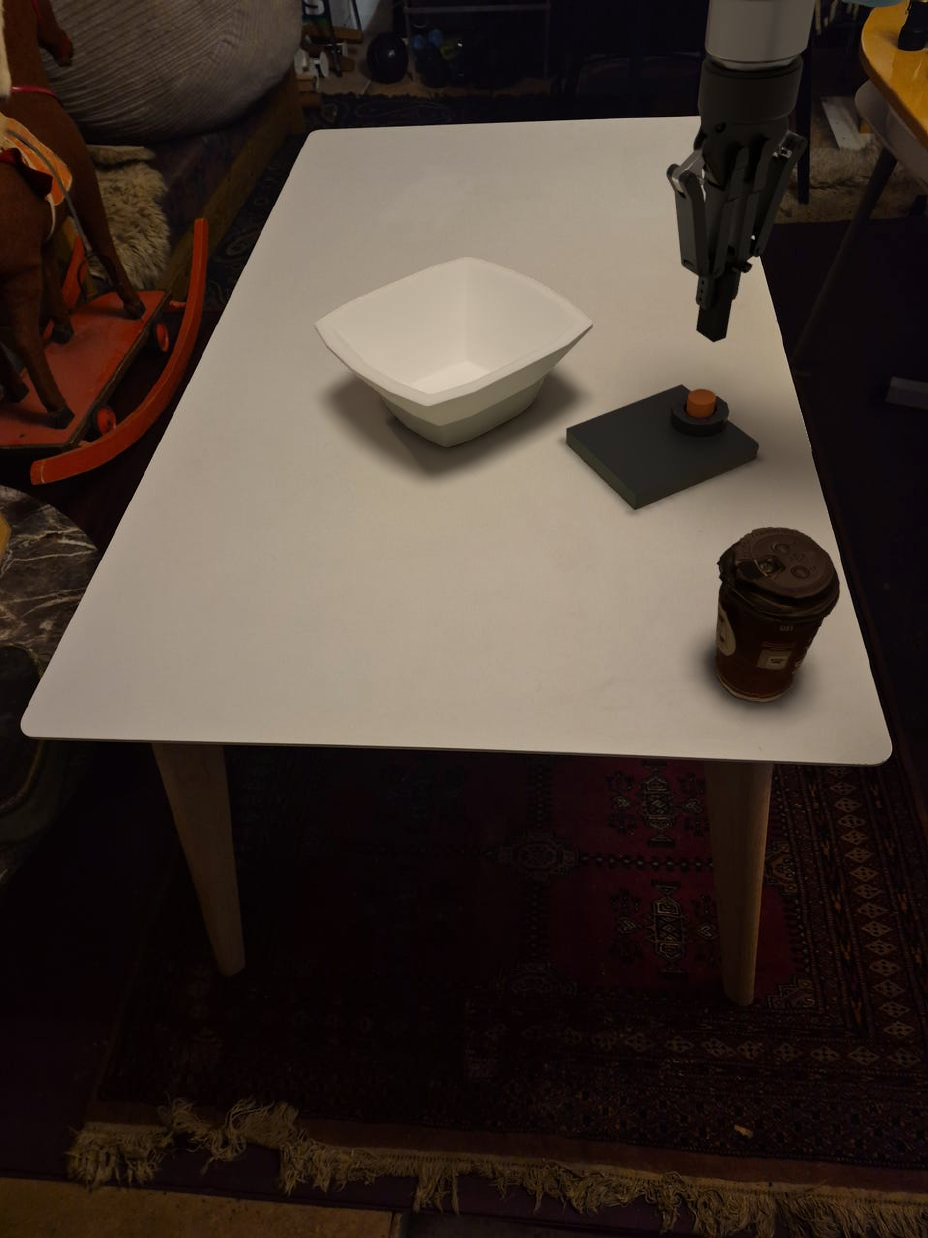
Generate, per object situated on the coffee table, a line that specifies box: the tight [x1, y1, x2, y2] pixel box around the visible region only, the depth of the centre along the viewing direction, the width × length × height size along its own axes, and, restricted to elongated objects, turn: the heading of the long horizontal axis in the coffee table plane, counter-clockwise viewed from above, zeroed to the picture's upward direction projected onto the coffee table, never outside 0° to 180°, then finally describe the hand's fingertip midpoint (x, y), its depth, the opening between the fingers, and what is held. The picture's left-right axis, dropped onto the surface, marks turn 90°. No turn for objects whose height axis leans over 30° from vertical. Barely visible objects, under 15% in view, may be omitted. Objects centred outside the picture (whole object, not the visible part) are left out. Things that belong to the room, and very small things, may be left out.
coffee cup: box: [714, 526, 841, 703], centre depth 66 cm, size 9×8×13 cm
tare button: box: [686, 388, 717, 418], centre depth 89 cm, size 3×3×2 cm
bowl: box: [313, 255, 594, 448], centre depth 96 cm, size 24×25×10 cm
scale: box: [565, 384, 761, 510], centre depth 89 cm, size 15×13×4 cm
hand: (710, 333), depth 83 cm, fingers closed
